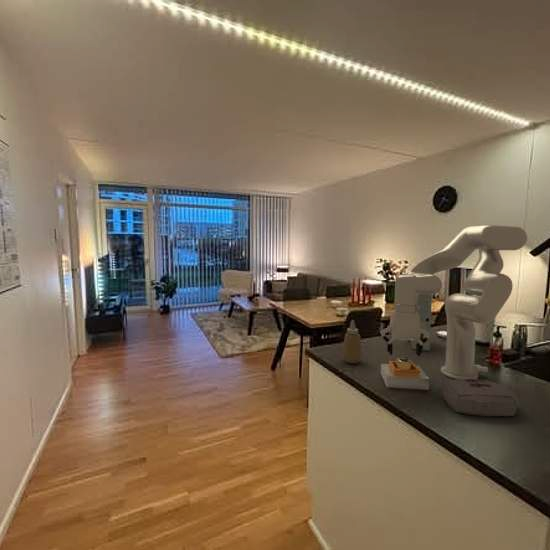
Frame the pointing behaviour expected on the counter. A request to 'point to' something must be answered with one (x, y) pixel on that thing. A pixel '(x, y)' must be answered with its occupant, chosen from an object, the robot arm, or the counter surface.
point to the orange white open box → (404, 377)
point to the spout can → (403, 363)
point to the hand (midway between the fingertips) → (404, 354)
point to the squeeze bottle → (352, 345)
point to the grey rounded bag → (479, 397)
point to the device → (424, 319)
